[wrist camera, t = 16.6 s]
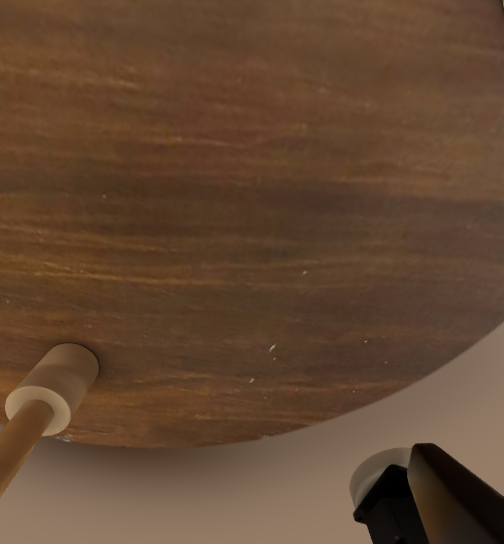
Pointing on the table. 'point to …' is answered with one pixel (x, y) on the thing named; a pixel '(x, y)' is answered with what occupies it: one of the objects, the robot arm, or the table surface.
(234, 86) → the table surface
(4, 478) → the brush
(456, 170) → the table surface
